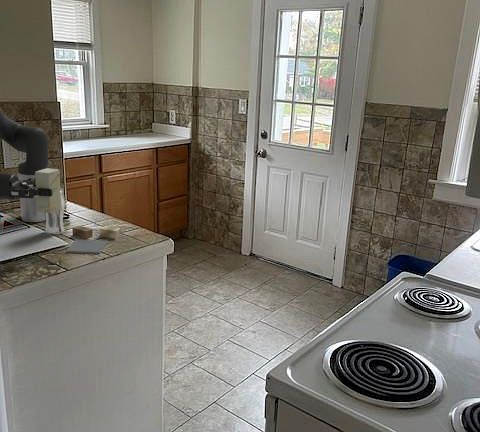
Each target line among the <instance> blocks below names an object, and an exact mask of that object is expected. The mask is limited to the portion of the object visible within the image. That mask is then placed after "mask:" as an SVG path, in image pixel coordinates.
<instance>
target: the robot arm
mask: <svg viewBox="0 0 480 432" xmlns="http://www.w3.org/2000/svg"><path fill="white" fill-rule="evenodd" d="M47 135H48V134H47V133H46V131H45V130H44V129H43V128H39V127H36V126H35V127H34V126H29V125H24V124H21V123H18V122H16V121H15V120H13V119H11V118H10V117H8V116H7V115H6V114H5V113H4V111H3V109H2V108H1V107H0V139H1V140H2V141H4V142H5V143H6V144H7V145H8V146H10V147H11V148H13V149H15V150H16V151H18V152H20V153H24V154H26V155H25V156H26V157H25V161H24V162H20V163H19V164H18V166H17V175H16V174H14V173H0V200H10V201H13V200H16V199H19V201H20V202H19V203H20V214H21V215H20V216H21V220H22V221H23V222H27V223H28V222H29V223H38V222H39V223H40V222H44V221H45V222H46V218H45V214H44V213H42V212H37V197H38V195H39V196H48V197H51V196H52V195H53V193H52V189H49V188H36V179H35V172H36V171H39V170H43V169H46V168H48V164H49V139H48V136H47ZM61 188H62V187H61V183H60V189H61Z"/></svg>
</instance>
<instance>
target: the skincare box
mask: <svg viewBox="0 0 480 432" xmlns="http://www.w3.org/2000/svg"><path fill="white" fill-rule="evenodd" d="M35 179H36V188H49V189H52V193H53V195H52V196H51V197H48V196H39V195H38V197H37V212H42V213H52V212H54V211H57V210H59V209H61V190H60V184H61V174H60V169H57V168H49V167H46V169H43V170H39V171H36V172H35Z"/></svg>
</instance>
